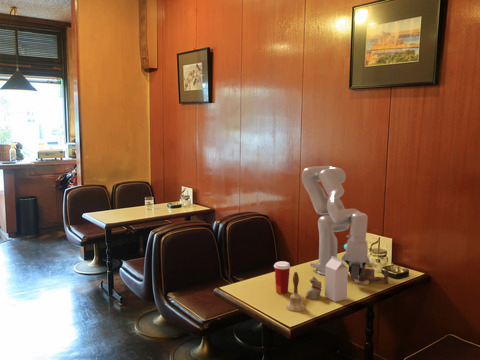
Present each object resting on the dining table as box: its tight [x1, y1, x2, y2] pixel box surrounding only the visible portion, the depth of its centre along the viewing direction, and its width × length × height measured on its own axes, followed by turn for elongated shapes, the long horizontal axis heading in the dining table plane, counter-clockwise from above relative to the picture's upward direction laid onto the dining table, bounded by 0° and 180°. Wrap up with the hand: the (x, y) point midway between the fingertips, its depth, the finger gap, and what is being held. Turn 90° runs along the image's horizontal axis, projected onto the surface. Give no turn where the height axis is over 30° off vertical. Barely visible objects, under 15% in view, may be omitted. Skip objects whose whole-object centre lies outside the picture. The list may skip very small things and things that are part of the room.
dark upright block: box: [350, 262, 359, 280], centre depth 190 cm, size 4×4×8 cm
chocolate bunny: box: [305, 275, 323, 300], centre depth 179 cm, size 6×8×10 cm
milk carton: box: [324, 256, 349, 303], centre depth 177 cm, size 7×7×19 cm
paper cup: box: [273, 260, 291, 295], centre depth 184 cm, size 8×8×14 cm
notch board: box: [365, 267, 390, 285], centre depth 198 cm, size 14×5×6 cm, turn 77°
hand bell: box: [285, 271, 306, 313], centre depth 168 cm, size 8×8×16 cm
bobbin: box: [353, 262, 370, 286], centre depth 196 cm, size 7×7×11 cm
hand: (354, 273), depth 190 cm, fingers closed on dark upright block, 3 cm apart
